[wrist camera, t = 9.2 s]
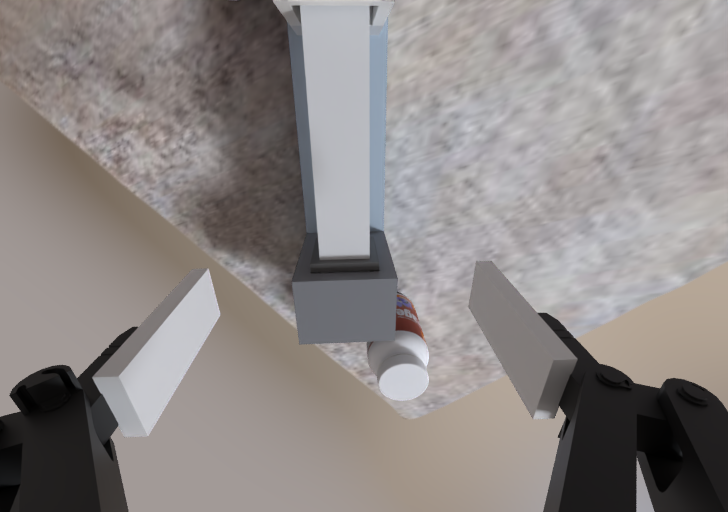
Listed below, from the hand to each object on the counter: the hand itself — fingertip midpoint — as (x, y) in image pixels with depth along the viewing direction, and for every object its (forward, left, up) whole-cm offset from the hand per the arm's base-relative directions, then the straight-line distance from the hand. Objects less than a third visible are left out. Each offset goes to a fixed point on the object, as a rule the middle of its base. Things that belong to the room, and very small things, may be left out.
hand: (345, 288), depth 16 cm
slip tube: (-4, 0, -14) cm, 14 cm away
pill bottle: (+15, +5, -18) cm, 24 cm away
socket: (+7, 0, -17) cm, 18 cm away
